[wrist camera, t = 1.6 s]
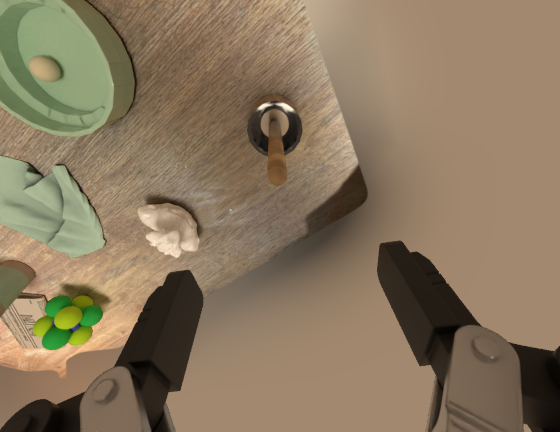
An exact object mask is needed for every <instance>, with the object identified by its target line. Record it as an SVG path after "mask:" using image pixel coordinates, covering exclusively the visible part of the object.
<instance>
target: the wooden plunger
mask: <svg viewBox="0 0 560 432" xmlns="http://www.w3.org/2000/svg"><path fill="white" fill-rule="evenodd" d="M260 125H261V129H262V131H263V133H264V134H265V135H266V136H267V137H269V142H268V180H269V182H270V183H271V184H273V185H276V186H279V185H282V184H283V183H285V181H286V179H287V171H286V163H285V156H284V148H283V140H282V136H283V135H285V133H286V132H287V130H288V127H289V121H288V117H287V114H286V113H285V111H284V110H283V109H281V108H279V107H269V108H267V109H266V110H265V111H264V112H263V114H262V116H261V122H260Z"/></svg>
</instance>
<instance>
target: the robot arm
mask: <svg viewBox="0 0 560 432" xmlns="http://www.w3.org/2000/svg"><path fill="white" fill-rule="evenodd" d="M377 272H378V278H379V281H380V284H381V286H382V288H383V290H384V292H385V295H386V297H387V299H388V301H389V303H390V305H391V307H392V309H393V311H394V313H395V315H396V318H397V320H398V322H399V324H400V326H401V328H402V330H403V332H404V335H405V337H406V339H407V341H408V343H409V345H410V347H411V349H412V351H413V353H414V355H415V357H416V360H417V362H418V364H419V366H426V365H431V366H432V368H433V370H434V372H435V374H436V376H435V381H434V387H433V392H432V398H431V403H430V409H429V415H428V420H427V426H426V431H425V432H524V430H523V424H527V425H528V426H529V428H530V429H531V431H532V432H560V346H559V347H558V348H557V349H556V350H555V351H549V350H543V349H538V348H532V347H527V346H522V345H517V344H513V343H510V342H507V341H506V340H505V339H504V338H503V337H501V336H500V335H499V334H497V333H495V332H493V331H491V330H489V329H487V328H484V327H482V326H481V325H480V324H479V323H478V322H477V321H476V320H475V318H474V317H473V316H472V314H471V313H470V312H469V310H468V309H467V308H466V306H465V305H464V304H463V303H462V301H461V300H460V299H459V298H458V296H457V295H456V294H455V292H454V291H453V290H452V288H451V287H450V286H449V284H447V283H446V281H445V279H444V278H443V277H442V275H441V274H439V271H438V270H437V269H436V268H435V266H434V265H433V264H432V262H431V261H430V260H429V259H427V258H426V257H424V256H423V255H421V254H420V253H418V252H411V253H410V252H409V250H408V249H407V248H406V246H405V245H404V243H403V242H402V241H393V242H386V243H381V244H380V246H379V257H378V267H377ZM202 307H203V294H202V291H201V289H200V288H199V286H198V284H197V282H196V280H195V278H194V276H193V275H192V273H191V271H190V270H183V271H176V272H170V273H169V274H168V276H167V278H166V280H165V282H164V284H163V286H159V287H158V288H157V289H156V290H155V291H154V292H153V293H152V294H151V295H150V297H149V298H148V300H147V302H146V304H145V306H144V308H143V312H141V314H140V316H139V318H138V322H136V324H135V326H134V328H133V330H132V332H131V334H130V336H129V338H128V340H127V342H126V344H125V346H124V348H123V350H122V352H121V354H120V356H119V358H118V360H117V362H116V364H115V366H114V367H113V368H111V369H109V370H107V371H105V372H103V373H102V374H101V375H99V376H98V377H97V378H96V379H95V380H94V381H93V382H92V384H91V385H90V386H89V387H88V389H87V390H86V391H85V392H83V393H81V394H79V395H77V396H74V397H72V398H70V399H68V400H66V401H63V402H61V403H59V404H57V405H56V404H54V403H52V402H50V401H48V400H46V399H40V400H36V401H34V402H31V403H30V404H28V405H26V406H25V407H23V408H22V409H20V410H19V411H18V412H17V413H15V414H14V415H13V416H12V417H11V418H10V419H9V420H8V421H7V422H6V423H5V425H4V426H3V427H2V428H1V430H0V432H176V431H175V428H174V425H173V422H172V419H171V416H170V412H169V409H168V407H167V404H166V403H165V402H166V399H167V395H168V392H174V391H180V390H181V386H182V382H183V379H184V375H185V371H186V367H187V363H188V360H189V356H190V352H191V348H192V345H193V341H194V337H195V333H196V330H197V326H198V322H199V318H200V314H201V311H202Z"/></svg>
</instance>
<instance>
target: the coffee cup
mask: <svg viewBox="0 0 560 432" xmlns="http://www.w3.org/2000/svg"><path fill="white" fill-rule="evenodd" d="M34 276H35V273H34V271H33V270H32V269H31V268H30V267H29V266H27V265H26V264H23V263H21V262H17V261H6V262H4V263H2V264H1V265H0V317H1V316H2V315H3V314H4V313H5V311H6V310H7V309H8V308H9V307H10V305H11V304H12V303H13V302H14V301H15V299H16V298H17V297H18V296H19V295H20V293H21V292H22V291H23V290H24V289H25V287H26V286H27V285H28V284H29V283H30V281H31V280H32V279H33V278H34Z"/></svg>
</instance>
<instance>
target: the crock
mask: <svg viewBox="0 0 560 432" xmlns="http://www.w3.org/2000/svg"><path fill="white" fill-rule="evenodd" d="M269 107H279V108H281V109H283V110H284V111H285V113H286V114H287V117H288V121H289V127H288V130H287V132H286V133H285V135H283V136H282V140H283V148H284V156H285V155H287V154H288V153H290V152H291V151H293V150H294V149H295V148H296V146H297V145H298V143H299V142H300V139H301V135H302V123H301V119H300V116H299V114H298V112H297V110H296V108H295V106H294V105H293V103H292V102H291V101H290V100H289V99H287V98H286V97H284V96H282V95H277V94H271V95H267V96H264V97H263V98H261V99H260V100H259V101H258V102H257V103H256V104H255V106H254V108H253V109H252V111H251V115H250V118H249V121H248V129H247V132H248V136H249V139H250V142H251V144H252V145H253V146H254V148H255V149H256V150H257V151H259V152H260V153H262V154H263V155H265V156H268V142H269V137H267V136H266V135H265V134H264V133H263V131H262V129H261V125H260V122H261V116H262V114H263V112H264V111H265V110H266V109H267V108H269Z"/></svg>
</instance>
